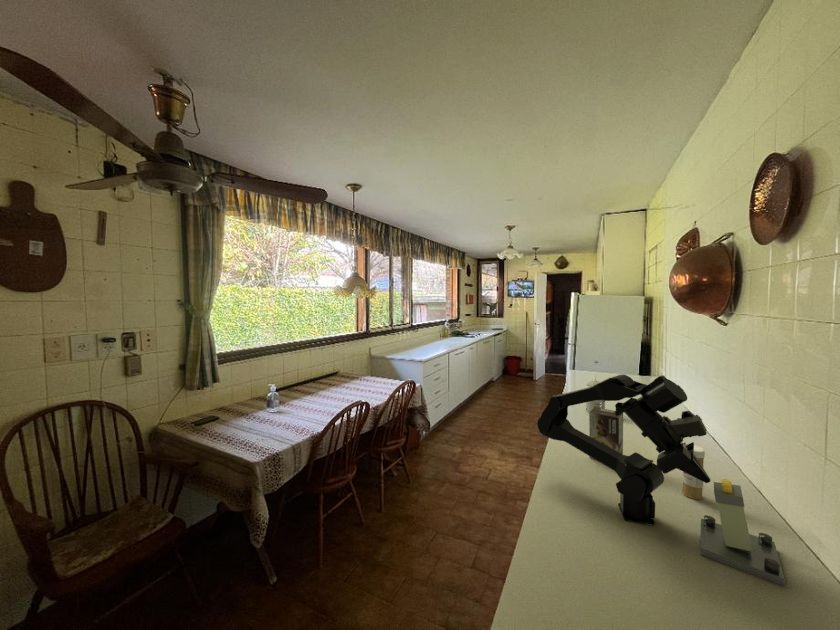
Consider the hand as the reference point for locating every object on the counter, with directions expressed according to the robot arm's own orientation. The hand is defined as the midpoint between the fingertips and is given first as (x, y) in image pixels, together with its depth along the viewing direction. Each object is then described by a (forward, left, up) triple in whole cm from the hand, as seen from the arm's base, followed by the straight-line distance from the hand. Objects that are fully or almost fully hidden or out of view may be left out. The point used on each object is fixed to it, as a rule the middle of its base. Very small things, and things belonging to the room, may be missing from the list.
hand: (708, 481), depth 73 cm
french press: (-8, +82, -14) cm, 84 cm away
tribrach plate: (+5, -2, -14) cm, 14 cm away
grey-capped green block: (+5, -2, -11) cm, 12 cm away
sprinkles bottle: (+5, +19, -14) cm, 24 cm away
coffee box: (-13, +35, -14) cm, 40 cm away
